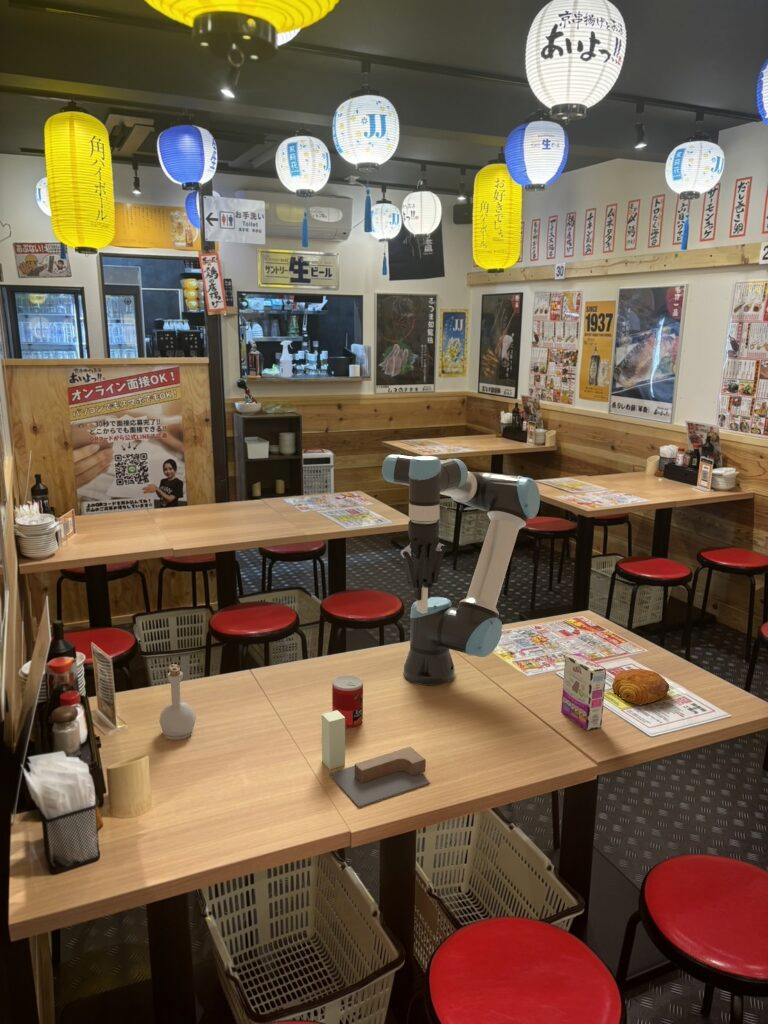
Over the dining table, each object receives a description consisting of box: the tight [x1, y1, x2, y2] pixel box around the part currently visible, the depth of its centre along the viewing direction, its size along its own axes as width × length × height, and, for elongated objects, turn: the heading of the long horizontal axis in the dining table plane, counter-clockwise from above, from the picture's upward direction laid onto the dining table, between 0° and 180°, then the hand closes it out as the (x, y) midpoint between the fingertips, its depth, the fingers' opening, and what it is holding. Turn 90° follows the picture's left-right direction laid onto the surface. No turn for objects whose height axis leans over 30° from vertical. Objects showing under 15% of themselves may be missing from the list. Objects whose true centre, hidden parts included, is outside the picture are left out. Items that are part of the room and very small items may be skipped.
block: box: [321, 710, 346, 770], centre depth 169 cm, size 4×4×12 cm
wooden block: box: [354, 746, 427, 783], centre depth 165 cm, size 7×3×15 cm
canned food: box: [331, 675, 364, 729], centre depth 189 cm, size 8×8×11 cm
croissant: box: [611, 668, 670, 705], centre depth 207 cm, size 14×16×8 cm
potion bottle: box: [158, 663, 197, 741], centre depth 181 cm, size 9×9×18 cm
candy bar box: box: [560, 652, 607, 731], centre depth 190 cm, size 11×5×16 cm, turn 23°
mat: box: [328, 765, 431, 809], centre depth 164 cm, size 18×14×1 cm
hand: (421, 611), depth 184 cm, fingers closed
